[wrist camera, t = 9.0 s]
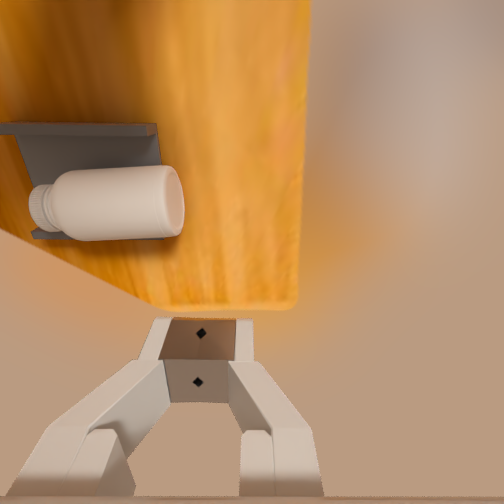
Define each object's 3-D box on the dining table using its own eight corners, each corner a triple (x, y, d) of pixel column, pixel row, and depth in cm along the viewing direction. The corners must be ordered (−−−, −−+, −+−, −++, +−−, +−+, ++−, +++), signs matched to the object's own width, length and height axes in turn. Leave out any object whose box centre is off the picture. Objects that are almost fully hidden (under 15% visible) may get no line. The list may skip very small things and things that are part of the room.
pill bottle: (157, 183, 26) (0, 194, 26) (178, 250, 31) (46, 258, 31) (175, 152, 32) (47, 161, 32) (189, 212, 37) (79, 219, 37)
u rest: (13, 121, 31) (-13, 123, 28) (156, 123, 32) (146, 125, 28) (51, 227, 38) (33, 239, 34) (170, 228, 38) (163, 239, 35)
